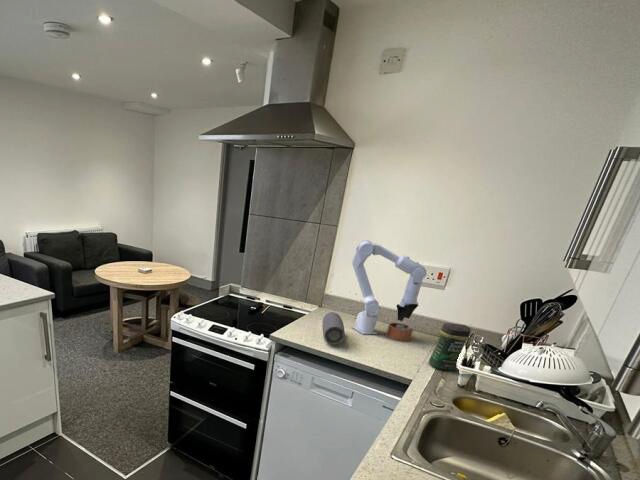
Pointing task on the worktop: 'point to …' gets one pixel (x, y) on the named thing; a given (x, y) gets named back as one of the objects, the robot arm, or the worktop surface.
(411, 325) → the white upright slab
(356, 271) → the robot arm
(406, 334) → the reddish brown oval basket
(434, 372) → the worktop surface
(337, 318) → the bluetooth speaker
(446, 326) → the coffee jar
